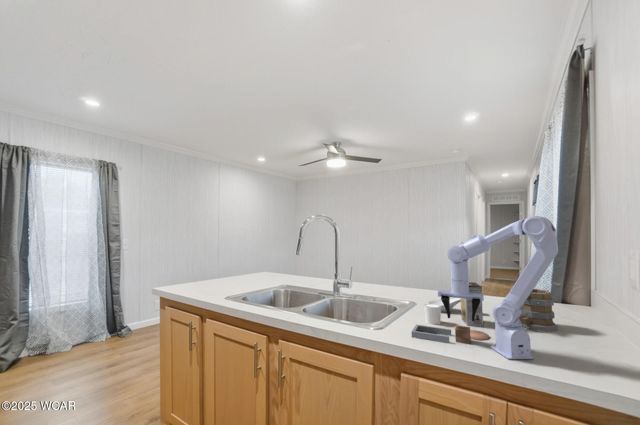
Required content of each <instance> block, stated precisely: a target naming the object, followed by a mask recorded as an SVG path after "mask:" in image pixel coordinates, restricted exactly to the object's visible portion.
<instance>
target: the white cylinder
mask: <svg viewBox="0 0 640 425" xmlns="http://www.w3.org/2000/svg"><path fill="white" fill-rule="evenodd" d="M423 309H424V314H425V315H424V317H425V323H427V324H429V325H440V324H441V316H442V315H441V314H442V312H441V306H440V305H437V304H427V303H425V304H423Z"/></svg>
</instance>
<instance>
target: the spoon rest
mask: <svg viewBox="0 0 640 425" xmlns="http://www.w3.org/2000/svg"><path fill="white" fill-rule="evenodd" d="M459 303H461V298H450V310H452V309H453V308H454V307H455V306H456V305H457V304H459ZM426 304H437V305H440V306H441V313H447V312H446V309H445V306H444V304H443V302H442V300H441V299H437V300H436V299H434V300H430V301H428V302H427V303H426Z"/></svg>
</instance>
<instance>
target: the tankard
mask: <svg viewBox="0 0 640 425" xmlns="http://www.w3.org/2000/svg"><path fill="white" fill-rule="evenodd" d="M554 304H555V301H554V299H553V298H552V292H550V291H548V290H545V289H538V288H534V289H533V290H532V292H531V293H530V295H529V296H528V298H527V299H526V301H525V304H524V305H523V307H522V315H521V316H520V317H519V320H520V321H521V323H522V328H525V329H529V330H532V331H539V332H540V331H541V332H553V331H558V328H559V327H558V325H557V324H556V323H555V322H554V320H553V319H555V312H554V311H553V306H554ZM552 330H553V331H552Z"/></svg>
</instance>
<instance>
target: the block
mask: <svg viewBox="0 0 640 425" xmlns="http://www.w3.org/2000/svg"><path fill="white" fill-rule="evenodd" d="M454 330H455V331H454V332H455V333H454V334H455V336H454V337H455V343H461V344H465V345H466V344H467V345H471V340H472V339H471V338H470V330H471V326H464V325H455V328H454Z"/></svg>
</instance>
